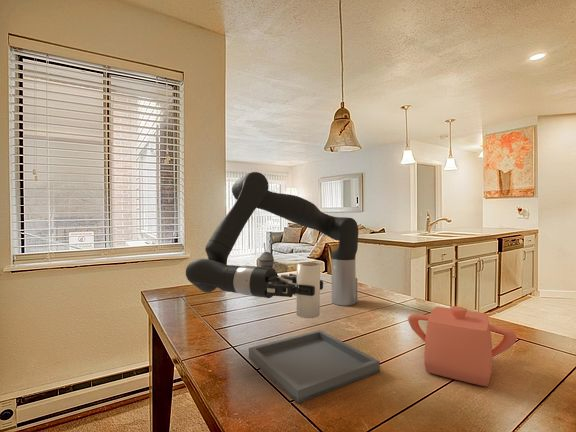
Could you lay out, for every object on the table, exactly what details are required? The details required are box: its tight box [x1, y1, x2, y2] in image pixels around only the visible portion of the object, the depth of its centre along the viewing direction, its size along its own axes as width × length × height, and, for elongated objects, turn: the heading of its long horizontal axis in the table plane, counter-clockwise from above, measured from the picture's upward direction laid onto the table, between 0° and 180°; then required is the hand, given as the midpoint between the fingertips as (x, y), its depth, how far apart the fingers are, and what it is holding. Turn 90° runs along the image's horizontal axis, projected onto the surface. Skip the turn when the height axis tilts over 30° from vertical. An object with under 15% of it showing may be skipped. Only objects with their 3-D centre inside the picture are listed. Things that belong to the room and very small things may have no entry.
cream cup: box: [296, 261, 321, 319], centre depth 76 cm, size 6×6×12 cm
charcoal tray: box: [248, 329, 381, 405], centre depth 76 cm, size 22×22×2 cm
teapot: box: [407, 305, 518, 387], centre depth 76 cm, size 20×22×14 cm
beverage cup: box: [258, 242, 275, 268], centre depth 158 cm, size 7×7×20 cm
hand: (318, 288), depth 75 cm, fingers closed on cream cup, 5 cm apart
